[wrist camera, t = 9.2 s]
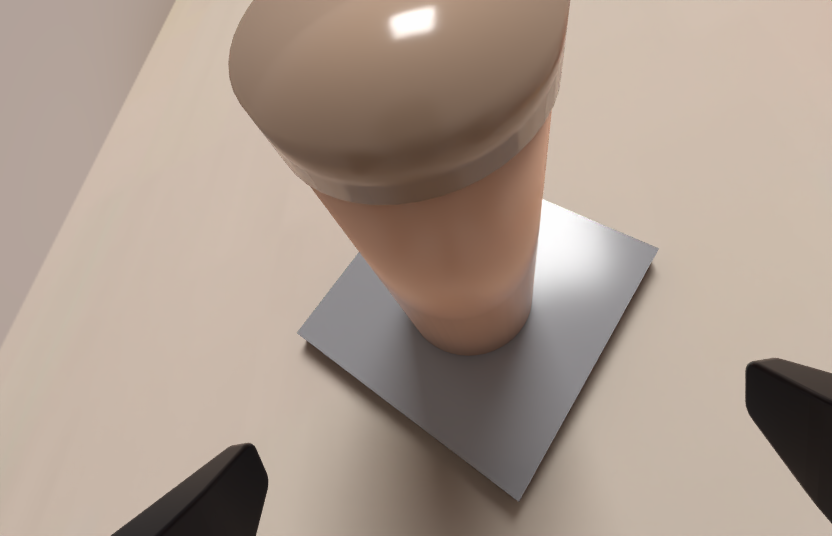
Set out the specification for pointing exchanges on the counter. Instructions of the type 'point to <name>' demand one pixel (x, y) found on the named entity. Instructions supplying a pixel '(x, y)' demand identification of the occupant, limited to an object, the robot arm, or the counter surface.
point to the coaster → (497, 370)
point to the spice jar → (417, 141)
